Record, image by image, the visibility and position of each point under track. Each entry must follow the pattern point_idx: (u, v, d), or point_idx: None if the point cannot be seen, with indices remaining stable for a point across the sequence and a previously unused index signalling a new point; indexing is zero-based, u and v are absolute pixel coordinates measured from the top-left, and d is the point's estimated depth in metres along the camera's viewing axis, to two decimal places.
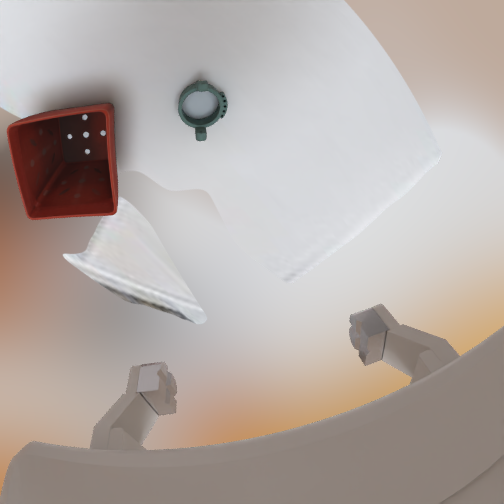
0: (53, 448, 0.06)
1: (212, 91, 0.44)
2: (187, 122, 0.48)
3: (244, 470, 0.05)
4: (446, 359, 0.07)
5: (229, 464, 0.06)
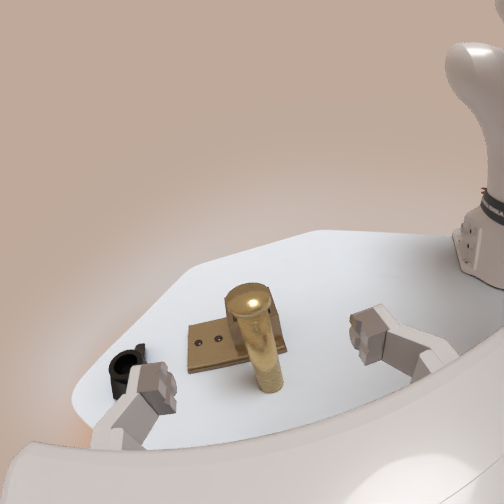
0: (52, 448, 0.06)
1: None
2: None
3: (244, 470, 0.05)
4: (446, 359, 0.07)
5: (229, 464, 0.06)
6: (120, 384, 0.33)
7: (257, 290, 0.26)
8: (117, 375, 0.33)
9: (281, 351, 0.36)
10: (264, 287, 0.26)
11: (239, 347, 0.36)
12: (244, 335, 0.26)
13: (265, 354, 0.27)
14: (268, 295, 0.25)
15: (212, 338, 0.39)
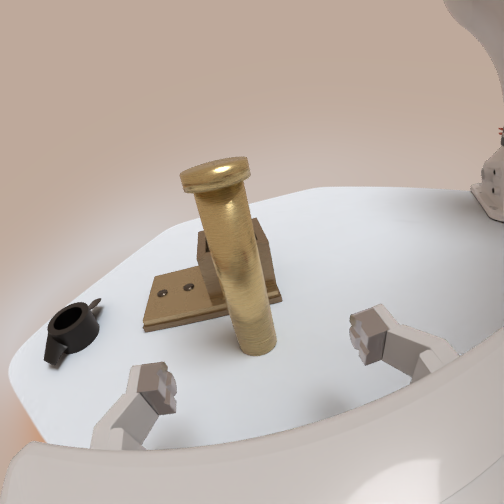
0: (52, 448, 0.06)
1: None
2: None
3: (244, 470, 0.05)
4: (446, 359, 0.07)
5: (229, 464, 0.06)
6: (55, 343, 0.23)
7: (229, 160, 0.16)
8: (54, 330, 0.23)
9: (274, 300, 0.26)
10: (240, 157, 0.16)
11: (214, 293, 0.26)
12: (208, 236, 0.17)
13: (243, 274, 0.17)
14: (245, 160, 0.15)
15: (180, 287, 0.30)
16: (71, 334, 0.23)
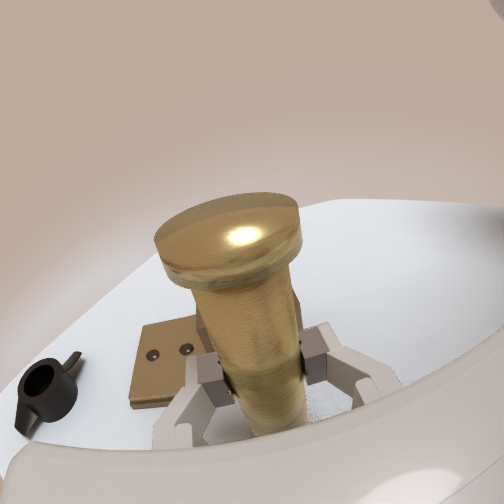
0: (52, 448, 0.06)
1: None
2: None
3: (244, 470, 0.05)
4: (386, 390, 0.07)
5: (229, 464, 0.06)
6: (26, 409, 0.15)
7: (256, 203, 0.08)
8: (23, 394, 0.16)
9: None
10: (279, 196, 0.08)
11: None
12: (218, 349, 0.09)
13: (277, 399, 0.09)
14: (295, 210, 0.07)
15: (176, 347, 0.22)
16: (40, 406, 0.15)
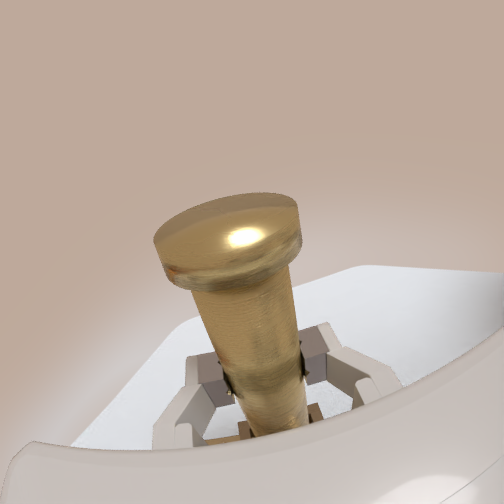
0: (53, 448, 0.06)
1: None
2: None
3: (244, 470, 0.05)
4: (386, 390, 0.07)
5: (229, 464, 0.06)
6: None
7: (256, 203, 0.08)
8: None
9: None
10: (279, 197, 0.08)
11: None
12: (218, 350, 0.09)
13: (277, 399, 0.09)
14: (295, 210, 0.07)
15: None
16: None
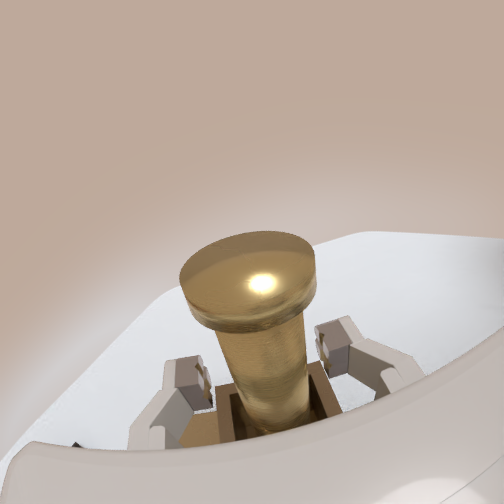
0: (53, 448, 0.06)
1: None
2: None
3: (244, 470, 0.05)
4: (410, 378, 0.07)
5: (229, 464, 0.06)
6: None
7: (274, 245, 0.09)
8: None
9: None
10: (295, 239, 0.09)
11: None
12: (235, 375, 0.09)
13: (286, 415, 0.10)
14: (312, 258, 0.08)
15: None
16: None
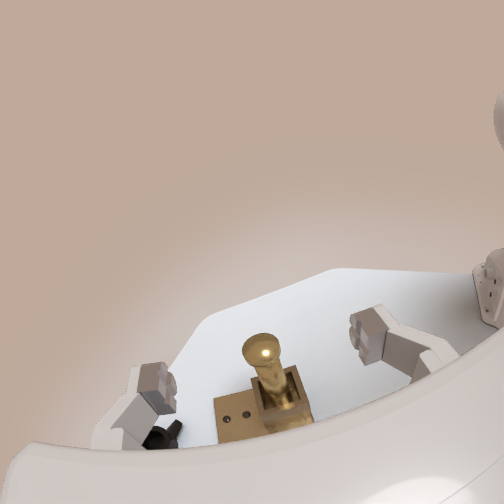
0: (53, 448, 0.06)
1: None
2: None
3: (244, 470, 0.05)
4: (446, 359, 0.07)
5: (229, 464, 0.06)
6: None
7: (268, 341, 0.29)
8: None
9: None
10: (274, 338, 0.29)
11: (269, 426, 0.33)
12: (259, 375, 0.30)
13: (277, 388, 0.31)
14: (278, 346, 0.28)
15: (239, 413, 0.36)
16: None
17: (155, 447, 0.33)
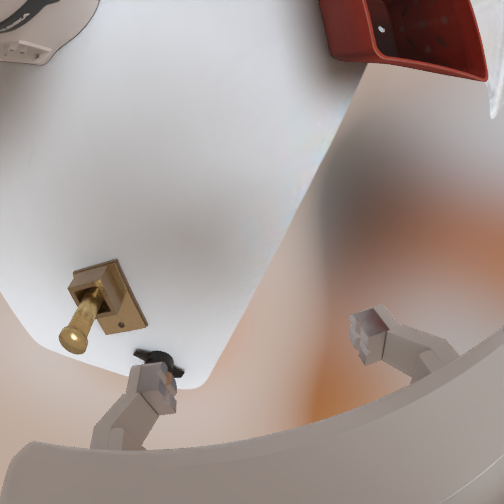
0: (53, 448, 0.06)
1: None
2: None
3: (244, 470, 0.05)
4: (446, 359, 0.07)
5: (229, 464, 0.06)
6: None
7: (65, 337, 0.29)
8: None
9: (118, 263, 0.41)
10: (62, 333, 0.28)
11: (122, 297, 0.42)
12: None
13: (93, 309, 0.35)
14: (68, 331, 0.28)
15: (114, 316, 0.44)
16: (172, 367, 0.50)
17: None
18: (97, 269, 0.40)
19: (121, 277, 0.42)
